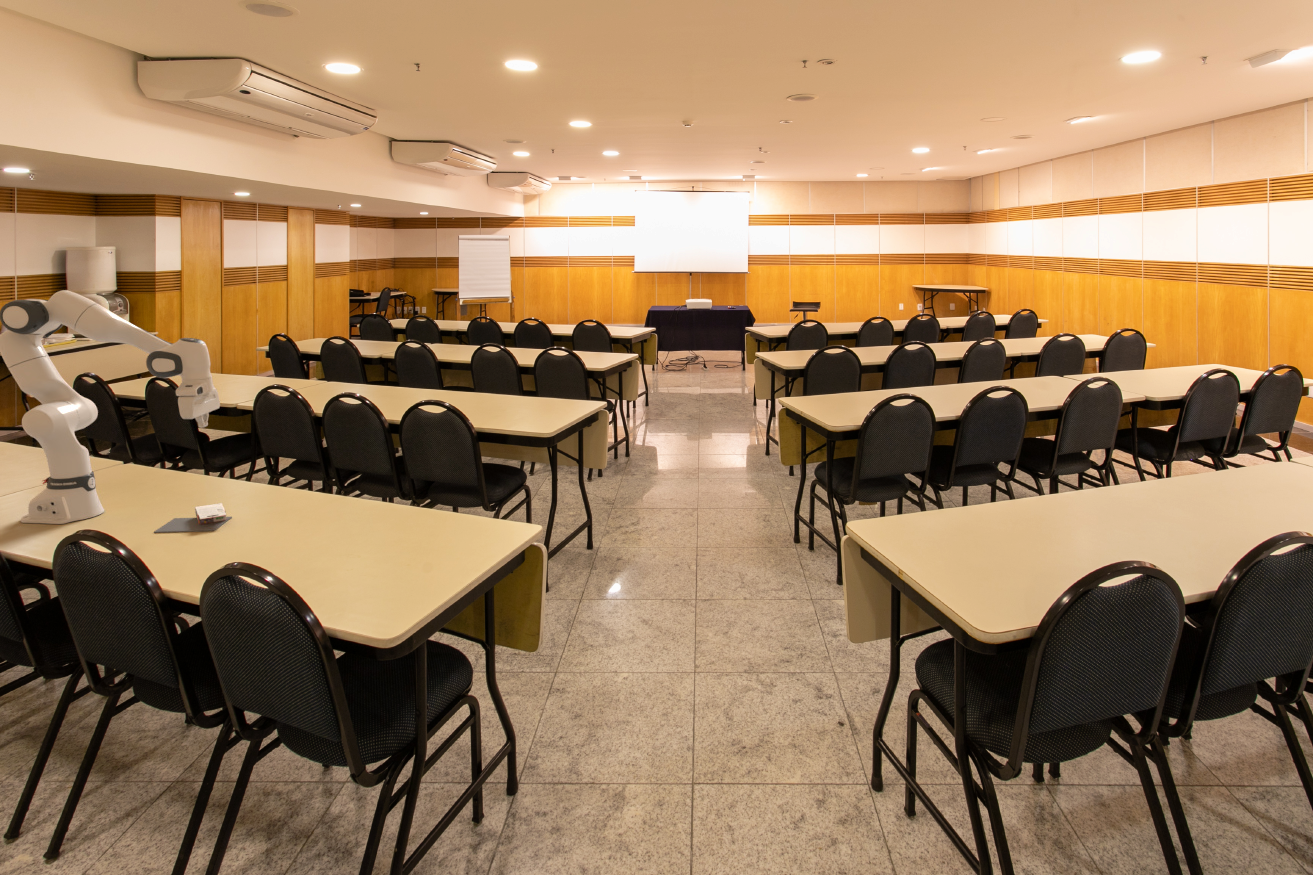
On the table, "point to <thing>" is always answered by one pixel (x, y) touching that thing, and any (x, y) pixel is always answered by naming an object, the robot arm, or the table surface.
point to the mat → (189, 525)
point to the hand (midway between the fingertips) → (203, 426)
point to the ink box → (210, 513)
